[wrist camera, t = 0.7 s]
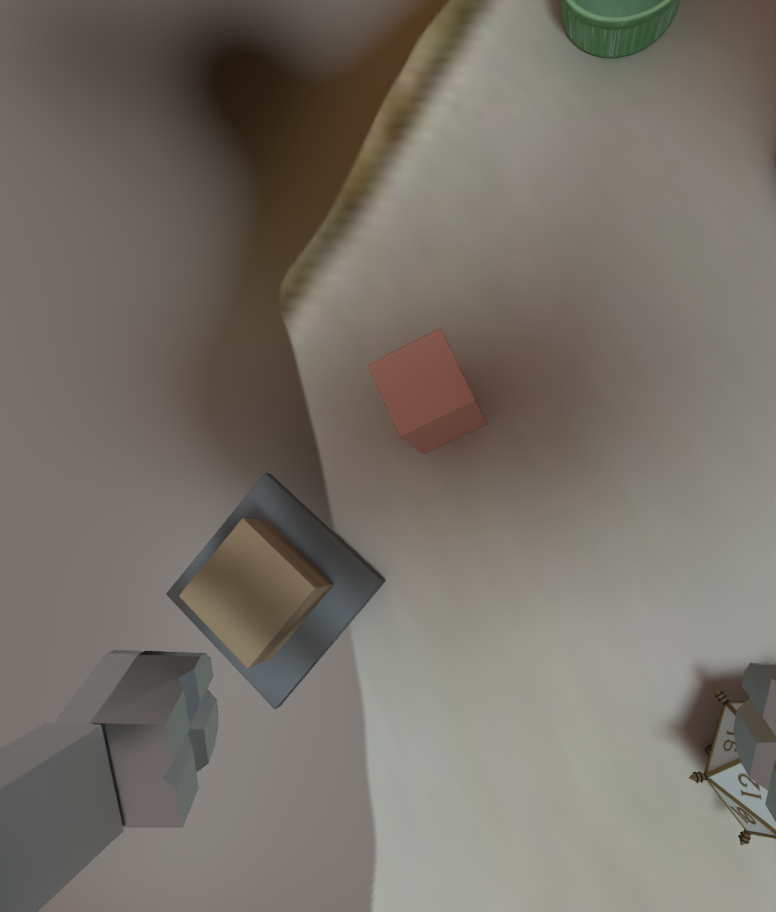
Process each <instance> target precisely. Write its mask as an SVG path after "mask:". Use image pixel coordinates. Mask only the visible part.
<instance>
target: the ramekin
mask: <svg viewBox="0 0 776 912" xmlns="http://www.w3.org/2000/svg"><path fill="white" fill-rule="evenodd" d="M679 3H680V0H561V8H562V18H563V23H564V27H565V30H566V32H567V34H568V36H569V37H570V39H571V40H572V41H573V43H574V44H575V45H576V46H578V47H579V48H580V49H582V50H584V51H585V52H587V53H590V54H592V55H595V56H599V57H605V58H614V57H623V56H626V55H630V54H633V53H636V52H638V51H641V50H643V49H645V48H646V47H648V46H649V45H651V44H652V43H653V42H655V41H656V40H657V39H658V38H659V37H660V36H661V35H662V34H663V33H664V32H665V31H666V29H667V28H668V26H669V25H670V24H671V22H672V20H673V18H674V16H675V14H676V11H677V8H678V5H679Z"/></svg>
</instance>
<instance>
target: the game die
mask: <svg viewBox="0 0 776 912" xmlns="http://www.w3.org/2000/svg"><path fill="white" fill-rule="evenodd" d="M714 689H715V688H714ZM715 697H717V698H718V701H721V702H722V703H723V707H722V711H721V714H720V718H719V722H718V725H717V729H716V732H715V736H714V739H713V743H712V747H711V746H710V745H709V746H708V747H707V748H705V749H704V750H705V751H706V753H707V755H709V757H708V761H707V764H706V768H705V772H704V773H701V772H697V773H696V772H693V774H692V775H691V776H690V777H689V778H690V779H692V780H694V781H696V782H697V783H698V782H701V783H702V781H704V780H707V781H708V782H709V784H710V785H711V786H712V788H713V789H714V790H715V792H716V793H717V794H718V795H719V797H720V798H721V799H722V801H723V802H724V803H725V805H726V806H727V807H728V808H729V810H730V811H731V812H732V814H733V815H734V816H735V818H736V819H737V820H738V821H739V823H740V824H741V825H742V827H743V828H744V831H743V832H740V833H741V834H740V835H738V836H739V838H740V843H741V845H743V844H748V843H749V840H750V838H751V837H750V835H751V834H753V835H758V836H764V837H769V838H774V839H776V822H775V820H774V818H773V817H772V815H771V813H770V812H769V810H768V808H767V807H766V805H765V803H766V798H767V794H768V790H766V789H765V788H763V787H762V786H760V785H759V784H758V783H756V782H755V781H753V780H752V779H751V778H749V776H748V774H747V772H746V771H745V769H744V767H743V765H742V764H741V761H740V758H739V755H738V753H737V750H736V745H735V737H734V722H735V716H736V710H737V709H738V708H739V707H740V706H741V705H742V704H744V703H745V701H728V700H727V698H726V695H725V694H724V693H723V691H720V690H718V689H715Z"/></svg>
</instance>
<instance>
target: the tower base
mask: <svg viewBox="0 0 776 912" xmlns="http://www.w3.org/2000/svg"><path fill="white" fill-rule="evenodd" d="M385 581H386V580H385V579H384V578H382V577H381V576H380V575H379V574H378V573H377V572H376V571H375V570H374V569H373V568H372V567H371V566H370V565H368V564H367V563H366V562H365V561H364V560H363V559H362V558H361V557H360V556H359V555H358V554H357V553H355V552H354V551H353V550H352V549H351V548H350V547H349V546H348V545H347V544H346V543H345V542H344V541H342V540H341V539H340V538H339V537H338V536H337V535H336V534H335V533H334V532H333V531H332V530H331V529H330V528H328V527H327V526H326V525H325V524H324V523H323V522H322V521H321V520H320V519H319V518H317V516H315V515H314V514H313V513H312V512H311V511H310V510H309V509H308V508H307V507H306V506H305V505H304V504H302V503H301V502H300V501H299V500H298V499H297V498H296V497H295V496H293V494H292V493H291V492H289V491H288V490H287V489H286V488H285V487H284V486H283V485H282V484H281V483H280V482H279V481H277V479H275V478H274V477H273V476H272V475H271V474H268V473H265V474H264V475H263V476H262V477H261V479H260V480H259V481H258V482H257V484H256V485H255V486H254V487H253V489H252V490H251V491H250V492H249V493H248V495H247V496H246V497H245V498H244V499H243V501H242V502H241V503H240V504H239V506H238V507H237V508H236V509H235V510H234V512H233V513H232V514H231V515H230V517H229V518H228V519H227V520H226V521H225V523H224V524H223V525H222V526H221V528H220V529H219V530H218V531H217V533H216V534H215V535H214V536H213V537H212V539H211V540H210V541H209V542H208V543H207V545H206V546H205V547H204V549H203V550H202V551H201V552H200V553H199V554H198V556H197V557H196V558H195V559H194V561H193V562H192V563H191V564H190V565H189V567H188V568H187V569H186V570H185V572H184V573H183V574H182V575H181V577H180V578H179V579H178V580H177V581H176V583H175V584H174V585H173V586H172V588H171V589H170V590H169V591H168V592H167V596H168V597H169V598H170V599H171V600H172V601H173V602H174V603H175V604H176V605H177V606H178V607H179V608H180V609H181V610H182V611H183V612H184V613H185V615H186V616H187V617H188V618H189V619H190V620H191V621H192V622H193V623H194V624H195V625H196V626H197V627H198V628H199V630H200V631H201V632H202V633H203V634H204V635H205V636H206V637H207V638H208V639H209V640H210V641H211V642H212V643H213V644H214V646H215V647H216V648H217V649H218V650H219V651H220V652H221V653H222V654H223V655H224V656H225V657H226V658H227V659H228V660H229V661H230V662H231V663H232V665H233V666H234V667H235V668H236V669H237V670H238V671H239V672H240V673H241V674H242V675H243V676H244V677H245V678H246V680H247V681H249V683H250V684H251V685H252V686H253V687H254V688H255V689H256V690H257V691H258V692H259V693H260V694H261V695H262V696H263V698H264V699H265V700H266V701H267V702H268V703H269V704H270V705H271V706H272V707H273V708H274V709H276V708H278V707H280V706H281V705H282V703H283V702H284V701H285V700H286V699H287V697H288V696H289V695H290V694H291V693H292V692H293V690H294V689H295V688H296V687H297V686H298V684H299V683H300V682H301V681H302V680H303V678H304V677H305V676H306V675H307V674H308V673H309V671H310V670H311V669H312V668H313V667H314V665H315V664H316V663H317V662H318V661H319V659H320V658H321V657H322V656H323V655H324V653H325V652H326V651H327V650H328V649H329V647H330V646H331V645H332V644H333V643H334V642H335V640H336V639H337V638H338V637H339V636H340V634H341V633H342V632H343V631H344V630H345V628H346V627H347V626H348V625H349V624H350V623H351V621H352V620H353V619H354V618H355V617H356V615H357V614H358V613H359V612H360V611H361V609H362V608H363V607H364V606H365V605H366V604H367V602H368V601H369V600H370V599H371V598H372V596H373V595H374V594H375V593H376V592H377V590H378V589H379V588H380V587H381V586H382V584H383V583H384V582H385Z"/></svg>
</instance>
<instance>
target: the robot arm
mask: <svg viewBox="0 0 776 912" xmlns="http://www.w3.org/2000/svg"><path fill="white" fill-rule="evenodd" d="M212 678H213V670H212V664H211V658H210V657H209V656H208V655H207V654H206V653H188V652H164V651H144V652H143V651H127V650H114V651H111V652H109V653H107V654H106V655H105V656H104V657H103V658H102V660H101V661H100V662H99V664H98V665H97V666H96V668H95V669H94V671H93V672H92V673H91V675H90V676H89V677H88V679H87V680H86V681H85V683H84V684H83V685H82V687H81V688H80V689H79V691H78V692H77V693H76V695H75V696H74V697H73V699H72V700H71V701H70V703H69V704H68V706H67V707H66V708H65V709H64V711H63V712H62V713H61V715H60V716H59V717H58V719H57V720H56V722H55V723H44V724H42V725H40V726H39V727H37V728H35V729H34V730H32V731H30V732H28V733H26V734H25V735H23V736H21V737H19V738H18V739H16V740H14V741H13V742H11V743H9V744H7V745H5V746H4V747H2V748H0V912H38V911H39V910H40V909H41V908H42V907H43V906H44V905H45V904H46V903H47V902H48V901H50V900H51V899H52V898H53V897H54V896H55V895H56V894H57V893H58V892H59V891H60V890H61V889H62V888H63V887H64V886H65V885H67V884H68V883H69V882H70V881H71V880H72V879H73V878H74V877H75V876H76V875H77V874H78V873H79V872H80V871H81V870H83V869H84V868H85V867H86V866H87V865H88V864H89V863H90V862H91V861H92V860H93V859H94V858H95V857H96V856H97V855H98V854H100V853H101V852H102V851H103V850H104V849H105V848H106V847H107V846H108V845H109V844H110V843H111V842H112V841H113V840H114V839H116V838H117V837H118V836H119V835H120V834H121V833H122V832H123V830H124V829H123V827H183V825H184V823H185V821H186V818H187V815H188V813H189V811H190V808H191V806H192V803H193V801H194V799H195V796H196V794H197V791H198V788H199V787H198V780H197V772H198V771H199V770H201V769H202V768H203V767H204V766H206V765H207V764H208V763H209V761H210V758H211V755H212V753H213V750H214V747H215V742H216V736H217V731H218V705H217V699H216V698H215V697H214V696H213V695H212V694H211V693H210V691H209V690H207V689H208V686H209V684H210V682H211V680H212ZM742 687H743V688H744V690H745V691H746V693H747V694H748V696H749V697H750V698H749V699H748V700H747V701H746V702H745V703H744V704H742V705H741V706H740V707H739V708H738V709H737V710H736V716H735V722H734V737H735V745H736V750H737V753H738V755H739V758H740V761H741V764H742V765H743V767H744V769H745V771H746V772H747V774H748V776H749V778H751V779H752V780H753V781H755V782H756V783H758V784H759V785H760V786H762V787H763V788H765V789H766V790H768V794H767V798H766V803H765V805H766V807H767V808H768V810H769V812H770V813H771V815H772V817H773V818H774V820H775V822H776V663H750V664H749V666H748V667H747V669H746V670H745V672H744V677H743V681H742Z"/></svg>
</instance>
